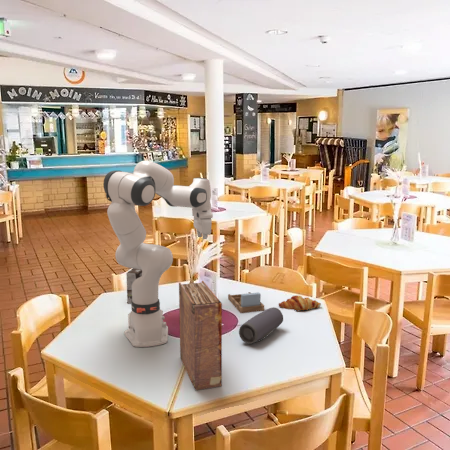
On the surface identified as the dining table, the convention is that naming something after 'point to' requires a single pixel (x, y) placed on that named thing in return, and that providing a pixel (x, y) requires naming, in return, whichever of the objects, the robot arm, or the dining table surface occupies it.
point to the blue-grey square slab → (250, 299)
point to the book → (201, 335)
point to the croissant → (299, 303)
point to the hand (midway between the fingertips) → (201, 240)
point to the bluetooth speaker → (260, 325)
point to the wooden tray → (235, 301)
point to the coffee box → (131, 277)
